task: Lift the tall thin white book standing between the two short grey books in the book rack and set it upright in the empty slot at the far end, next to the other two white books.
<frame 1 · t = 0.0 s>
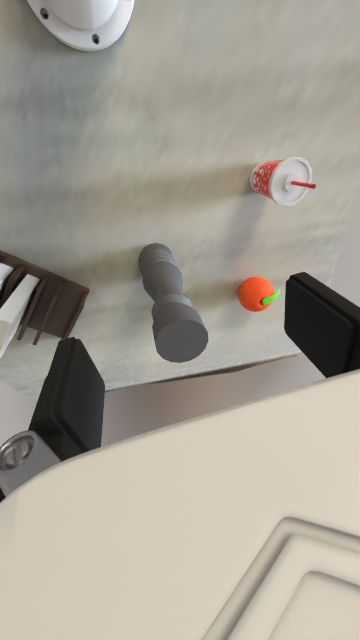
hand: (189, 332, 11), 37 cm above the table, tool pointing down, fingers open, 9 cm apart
beverage cup: (262, 177, 43), on the table
white book a: (0, 287, 44), point 1 cm above the table, touching book rack
clementine: (250, 285, 55), on the table
white book b: (25, 297, 46), point 1 cm above the table, touching book rack
candle holder: (155, 259, 48), on the table
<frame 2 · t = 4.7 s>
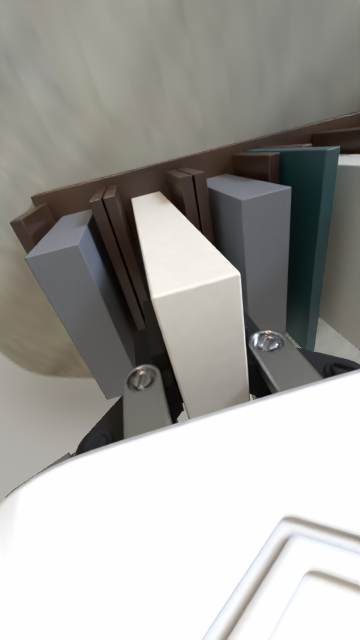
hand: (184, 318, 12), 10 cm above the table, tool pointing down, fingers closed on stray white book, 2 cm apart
grey book 1: (104, 274, 19), point 1 cm above the table, touching book rack
grey book 2: (218, 243, 20), point 1 cm above the table, touching book rack
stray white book: (161, 258, 19), point 1 cm above the table, touching book rack, gripper
white book a: (286, 224, 20), point 1 cm above the table, touching book rack
book rack: (262, 226, 21), on the table
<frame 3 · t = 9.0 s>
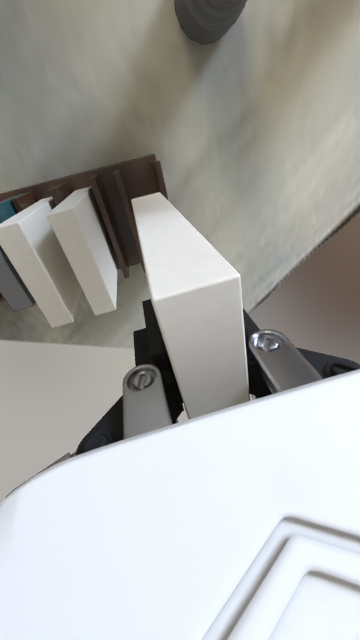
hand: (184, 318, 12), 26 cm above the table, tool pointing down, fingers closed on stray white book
grey book 2: (23, 247, 32), point 1 cm above the table, touching book rack
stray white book: (162, 259, 19), point 17 cm above the table, touching gripper
white book a: (66, 235, 32), point 1 cm above the table, touching book rack
white book b: (97, 227, 32), point 1 cm above the table, touching book rack
book rack: (56, 236, 33), on the table
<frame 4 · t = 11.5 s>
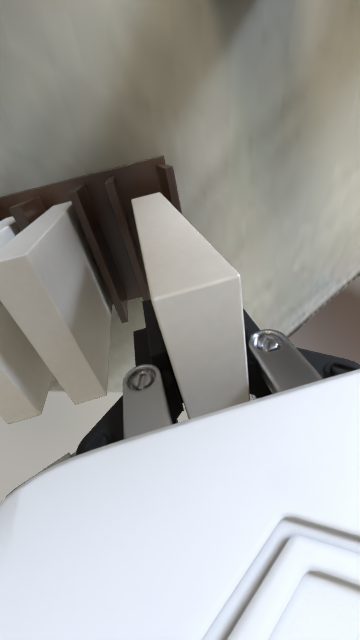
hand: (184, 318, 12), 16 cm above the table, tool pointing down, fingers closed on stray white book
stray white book: (162, 259, 19), point 7 cm above the table, touching gripper
white book a: (44, 264, 24), point 1 cm above the table, touching book rack
white book b: (86, 253, 24), point 1 cm above the table, touching book rack
book rack: (31, 264, 25), on the table
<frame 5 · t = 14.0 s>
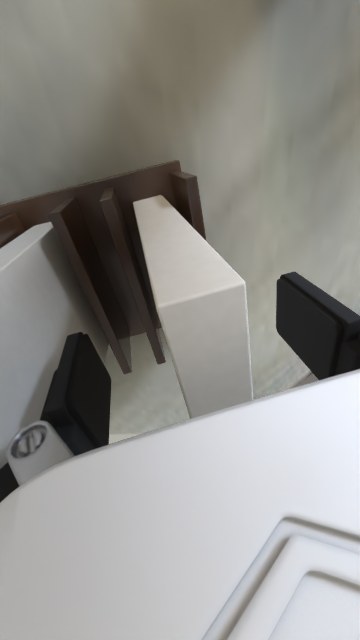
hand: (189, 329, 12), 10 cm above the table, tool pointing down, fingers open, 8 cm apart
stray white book: (163, 261, 19), point 1 cm above the table, touching book rack
white book b: (78, 283, 19), point 1 cm above the table, tilted 6°, touching book rack, gripper
book rack: (10, 296, 20), on the table
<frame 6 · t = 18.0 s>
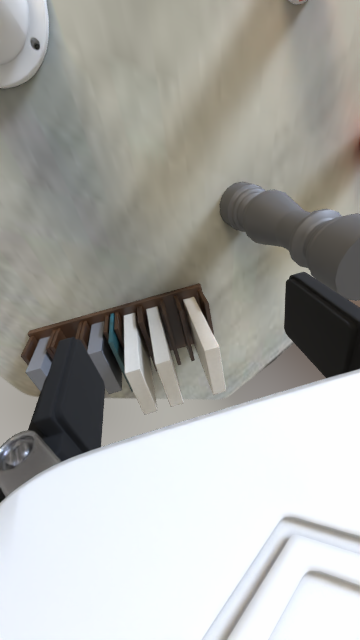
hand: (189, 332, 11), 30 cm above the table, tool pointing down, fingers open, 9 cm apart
grey book 1: (58, 356, 46), point 1 cm above the table, touching book rack
grey book 2: (107, 342, 46), point 1 cm above the table, touching book rack
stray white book: (192, 318, 47), point 1 cm above the table, touching book rack
white book a: (137, 334, 47), point 1 cm above the table, touching book rack
white book b: (158, 327, 47), point 1 cm above the table, touching book rack
book rack: (128, 333, 47), on the table
candle holder: (238, 204, 39), on the table
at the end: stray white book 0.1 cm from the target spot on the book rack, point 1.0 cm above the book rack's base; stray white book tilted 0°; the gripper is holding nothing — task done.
